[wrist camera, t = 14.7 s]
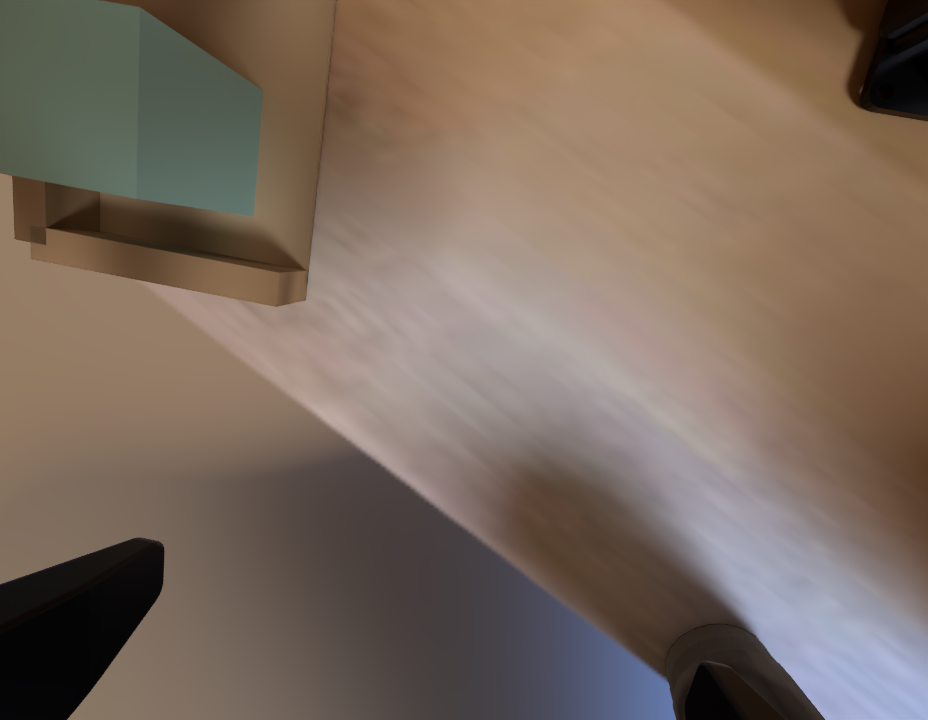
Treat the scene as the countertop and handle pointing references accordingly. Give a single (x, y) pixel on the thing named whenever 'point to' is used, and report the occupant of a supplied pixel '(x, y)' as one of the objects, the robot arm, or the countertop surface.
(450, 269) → the countertop surface
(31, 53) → the teal block
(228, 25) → the tray
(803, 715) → the beverage cup
